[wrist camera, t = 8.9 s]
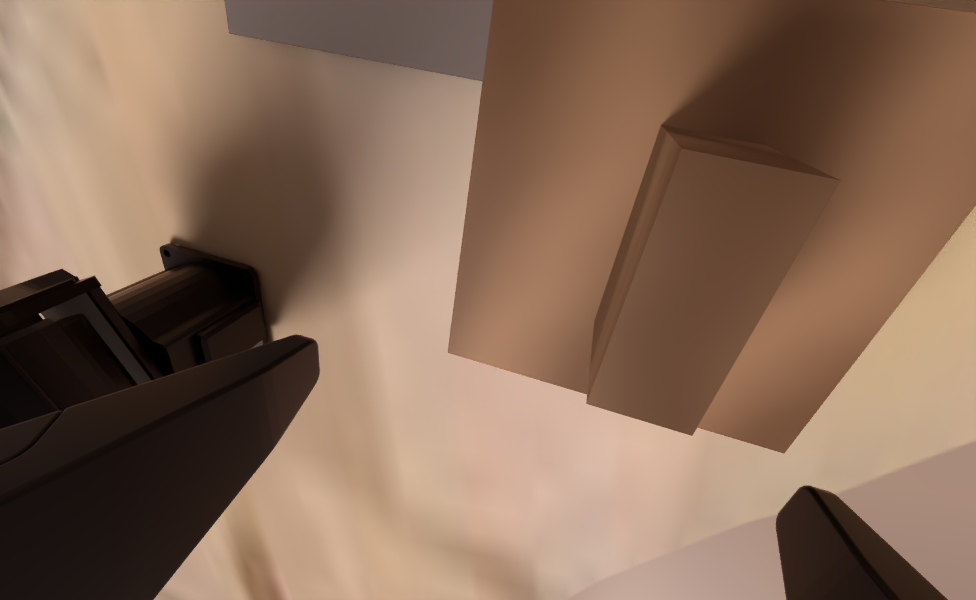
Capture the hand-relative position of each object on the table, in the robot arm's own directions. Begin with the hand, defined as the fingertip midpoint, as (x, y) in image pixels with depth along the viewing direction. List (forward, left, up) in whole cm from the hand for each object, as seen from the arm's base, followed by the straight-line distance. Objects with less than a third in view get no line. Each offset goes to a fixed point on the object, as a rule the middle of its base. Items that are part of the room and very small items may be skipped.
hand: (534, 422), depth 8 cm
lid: (+2, +2, -7) cm, 8 cm away
